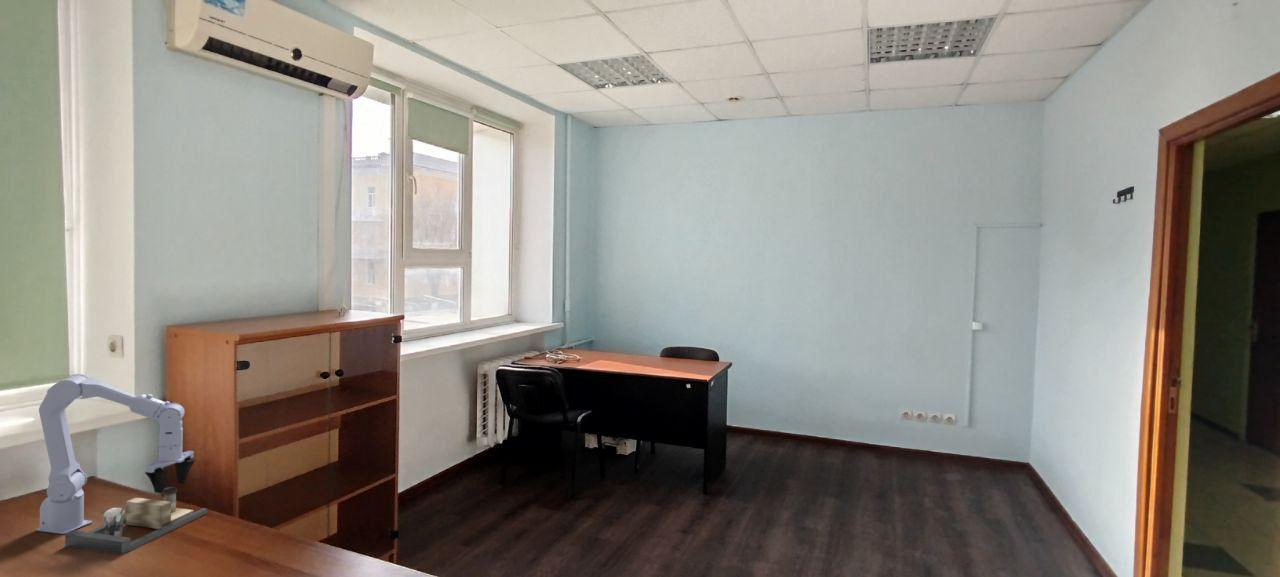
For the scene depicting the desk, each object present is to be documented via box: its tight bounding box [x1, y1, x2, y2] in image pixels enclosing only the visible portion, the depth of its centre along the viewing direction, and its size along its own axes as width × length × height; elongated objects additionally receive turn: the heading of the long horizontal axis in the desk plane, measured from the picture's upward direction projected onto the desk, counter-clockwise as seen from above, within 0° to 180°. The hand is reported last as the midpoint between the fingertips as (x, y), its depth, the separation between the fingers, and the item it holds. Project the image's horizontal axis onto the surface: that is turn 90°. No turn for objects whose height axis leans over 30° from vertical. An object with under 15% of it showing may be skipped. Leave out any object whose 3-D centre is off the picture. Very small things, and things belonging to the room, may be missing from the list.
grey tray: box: [64, 507, 208, 556], centre depth 179 cm, size 18×28×4 cm, turn 172°
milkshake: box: [103, 506, 126, 537], centre depth 171 cm, size 4×5×10 cm
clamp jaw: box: [125, 486, 195, 530], centre depth 185 cm, size 12×11×8 cm
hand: (170, 487), depth 188 cm, fingers open, 7 cm apart
